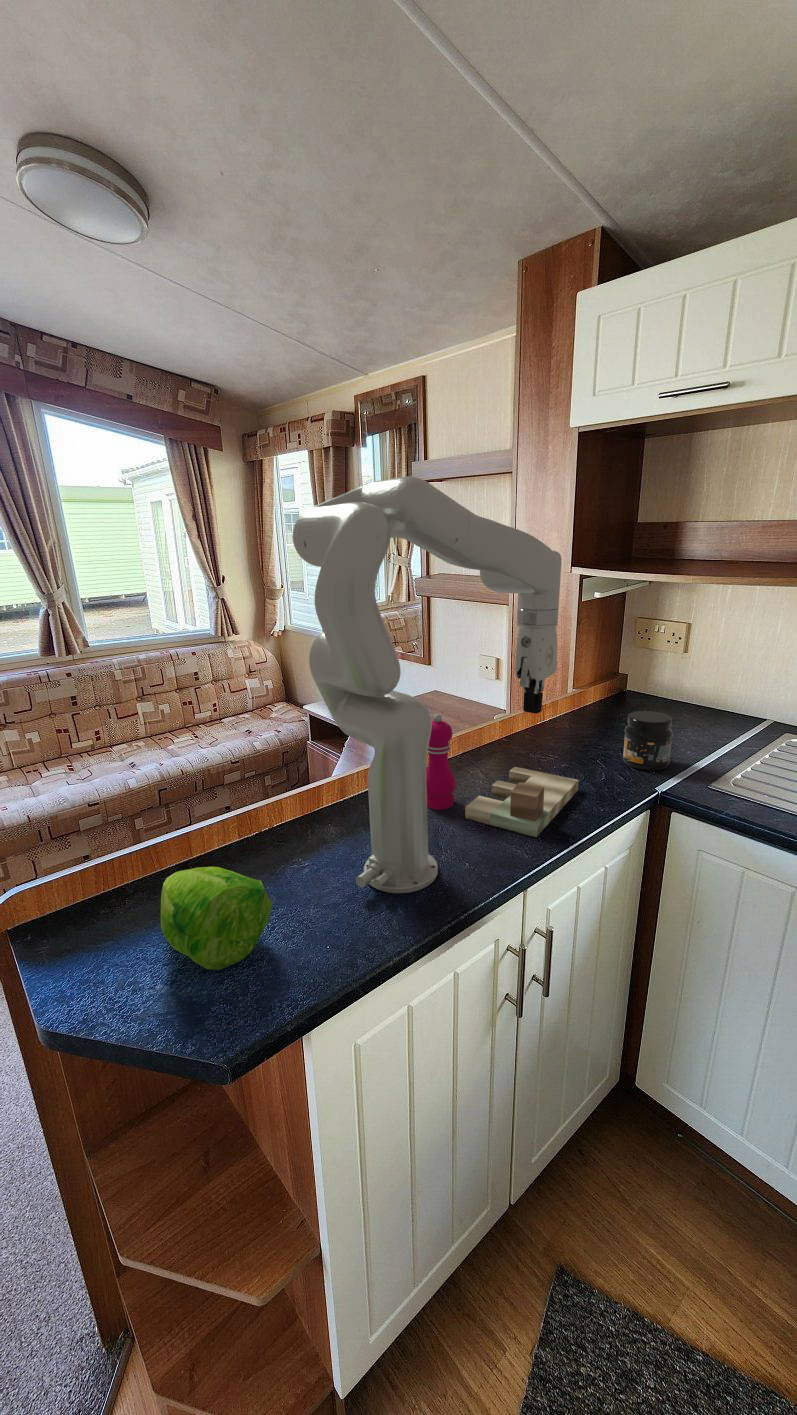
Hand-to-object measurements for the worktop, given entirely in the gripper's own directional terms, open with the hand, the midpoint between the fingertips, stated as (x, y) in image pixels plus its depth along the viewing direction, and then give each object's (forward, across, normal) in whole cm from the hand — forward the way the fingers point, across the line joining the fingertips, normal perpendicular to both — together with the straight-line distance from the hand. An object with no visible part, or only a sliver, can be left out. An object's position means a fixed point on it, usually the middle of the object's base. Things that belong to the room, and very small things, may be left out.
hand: (532, 711), depth 112 cm
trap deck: (+21, +2, +2) cm, 21 cm away
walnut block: (+19, -6, -2) cm, 20 cm away
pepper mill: (+22, -7, +17) cm, 28 cm away
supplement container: (+20, +37, -14) cm, 45 cm away
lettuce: (+23, -62, +21) cm, 70 cm away
